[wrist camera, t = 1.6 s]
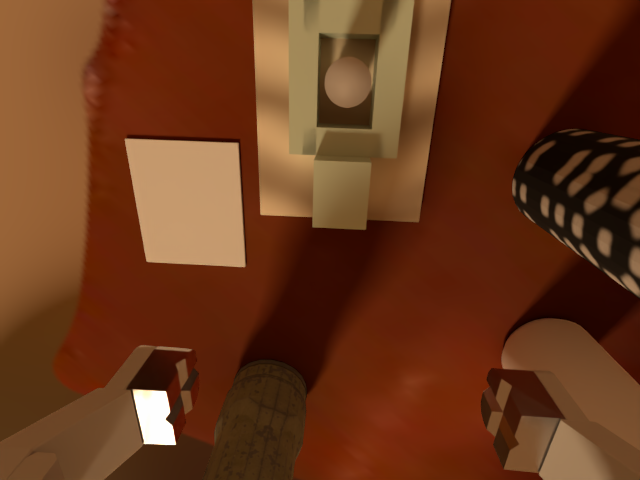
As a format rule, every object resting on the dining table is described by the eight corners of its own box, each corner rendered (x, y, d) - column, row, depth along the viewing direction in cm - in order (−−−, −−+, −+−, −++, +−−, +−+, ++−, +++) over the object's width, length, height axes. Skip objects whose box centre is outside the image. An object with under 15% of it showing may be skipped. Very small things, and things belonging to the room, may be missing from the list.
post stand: (256, -24, 27) (199, -94, 16) (448, -20, 26) (521, -90, 16) (263, 209, 34) (228, 266, 23) (415, 216, 33) (449, 278, 23)
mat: (126, 138, 32) (124, 138, 32) (238, 142, 32) (237, 143, 31) (148, 260, 37) (146, 261, 36) (246, 265, 36) (245, 267, 36)
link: (294, 5, 26) (283, -12, 21) (406, 8, 26) (420, -9, 21) (294, 205, 32) (285, 226, 27) (385, 209, 32) (392, 231, 27)
